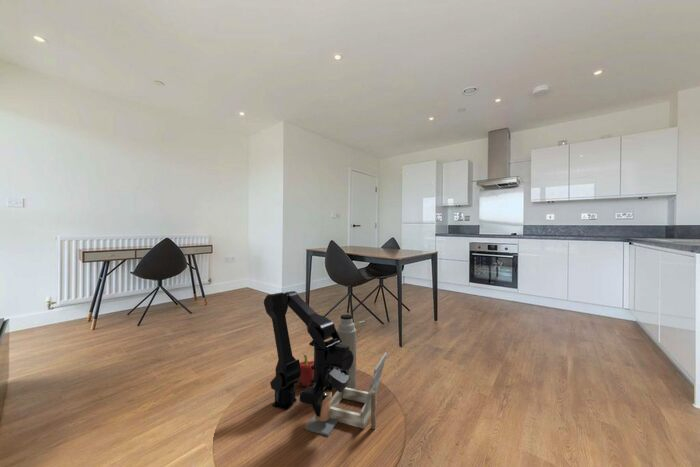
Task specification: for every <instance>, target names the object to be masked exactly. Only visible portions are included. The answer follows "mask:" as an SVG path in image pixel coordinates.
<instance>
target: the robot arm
mask: <svg viewBox="0 0 700 467" xmlns="http://www.w3.org/2000/svg"><path fill="white" fill-rule="evenodd" d="M263 306H264V308H265V312H266V314H267V315H268V316H269V317H270V319H271V320H272V322H271V323H272V327H273V334H274V339H275V340H274V341H275V346H276V352H277V362H276V366H275V376H274V377H273V379H272V380H271V381H270V388H271V390H273V391H274V402H272V403H271V406H272V407H275V408H278V409H282V410H285V411H287V410H288V409H289V408H291V407H292V405H294V404H295V403H296V401H297V400H298V399H297V398H296V389H295V385H297V384H296V383H298V380H299V377H300V376H301V368H300V363H301V362H300V359H299V358H298V359H296V358H295V357H294V355H293V352H292V347H291V341H290V340H291V339H290V335H289V334H290V333H289V328H288V324H287V317H286V315H287V312H288V309H289V308H290V309H291V311H293V313H294V314H296V316H297V317H298V318H299V320H301V321H302V322H303V323H304V325H305V326H306V330H307V333H308V335H309V336H310V338H311V341H310V342H309V343H308V345H309V346H312V347H313V361H314V364H313V365H312V366H311V369H312V370H314V377H313V378H312V379H311V383H314V384H313V386H312V385H309V386H306V387H305V388H304V389H303V390H302V391H301V392H300V393H299V402H300V403H303V404H307V405H311V407H312V409H313V411H314V414H315V413H316V416H318V417H320V415H321V408H322V401H323V400H324V399H325V398H326V396H323V392H324V389H328V390H330V391H331V392H332V393H333V390H336V392H337V391H338V392H343V390H344V389H345V388H346V386H347V383H348V380H349V379H350V377H349V376H350V375H349V369H350V368H351V366H352V363H353V358H354V356H353V353H352V352H351V351H350V350H349V346H347V345H341V344H339V343H341V342H342V341H341V339H340V336H339V335H338V333H337V329H336V327H335V323H334V322H333V321H332V320H331V319H329V318H328V317H326V316H325V315H320V314H319V313H317V312H316V311H315V310H314V309H313V308H312V307H311V306H310V305H309V304H308V303H307V302H306V301H305V300H304V299H303V298H301V296H300V295H299V293H298V292H297V291H296V290H295V291H294V290H291V291H286V292H278V293H277V292H276V293H271V294H267V295H266V296H265V297H264V299H263ZM341 369H342V370H341Z"/></svg>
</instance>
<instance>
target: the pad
mask: <svg viewBox="0 0 700 467" xmlns="http://www.w3.org/2000/svg"><path fill="white" fill-rule="evenodd" d="M338 423H339V422H338V420H337V419H333V418H329V419H328V420H326V421H318V420H316V419H315V415H314V416H313V417H312V418H311V419H310V421H309V422H307V424H306V425H305V427H304V429H305V430H306V431H309V432H313V433H317V434H319V435H323V436H327V437H329V436H330V434H331V433H332V432H333V429H335V426H336V425H337V424H338Z"/></svg>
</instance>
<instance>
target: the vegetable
mask: <svg viewBox="0 0 700 467" xmlns="http://www.w3.org/2000/svg"><path fill="white" fill-rule="evenodd" d="M303 357H304V361H301V362H300V368H301V376H300V377H299V380H298V383H296V384H295V385H297V386H299V387H302V386H303V387H305V388H306V387H307V386H312V385H315V383H311V379H312V378H313V377H314V370H312V369H311V366H312V365H313V364H314V360H311V361H308V356H307V355H306V354H304V355H303Z"/></svg>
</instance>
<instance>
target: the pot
mask: <svg viewBox="0 0 700 467" xmlns="http://www.w3.org/2000/svg"><path fill="white" fill-rule="evenodd" d="M323 396H326V398H325V399H324V400H323V401H322V408H321V415H320V417H318V416H316V413H315V412H314V416H315V419H316V420H318V421H326V420H328V419H329V418H330V416H331V398H332V397H333V391H332V392H331V391H330V390H328V389H324V392H323Z"/></svg>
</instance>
